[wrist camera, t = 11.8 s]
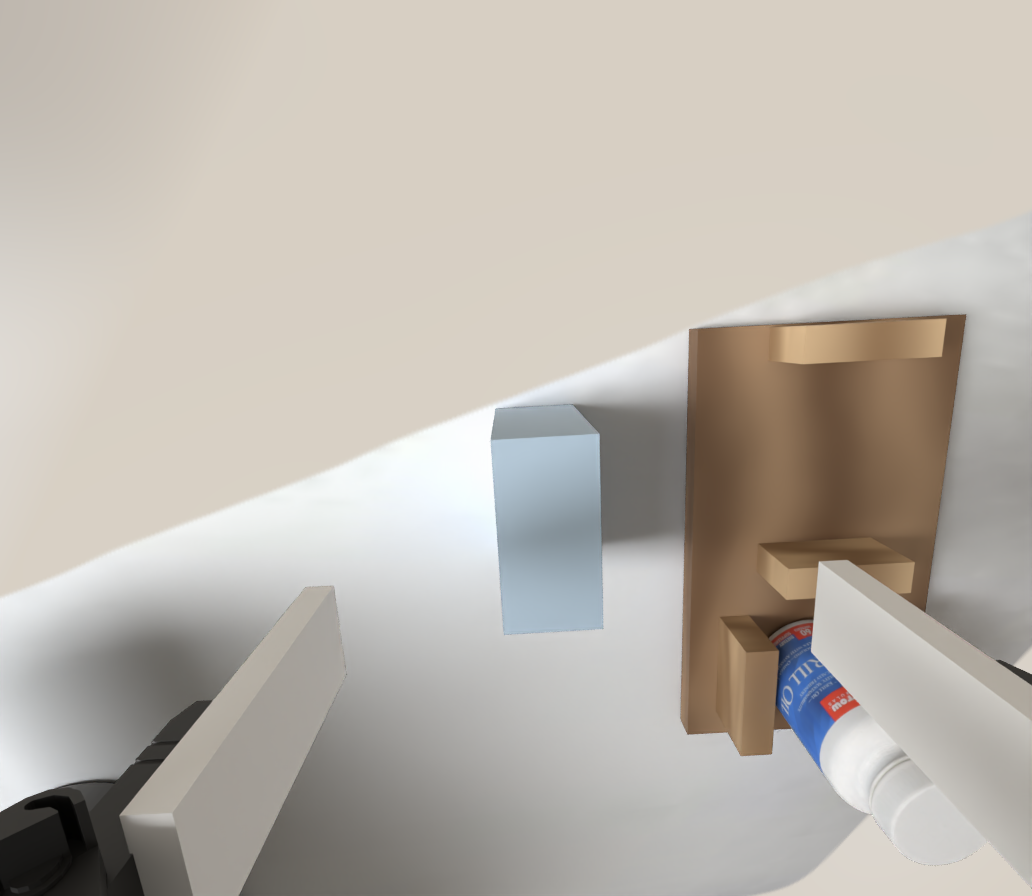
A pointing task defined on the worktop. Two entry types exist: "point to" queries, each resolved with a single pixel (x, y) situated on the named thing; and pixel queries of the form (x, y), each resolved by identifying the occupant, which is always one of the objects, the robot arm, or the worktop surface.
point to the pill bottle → (866, 758)
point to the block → (548, 519)
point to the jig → (802, 490)
